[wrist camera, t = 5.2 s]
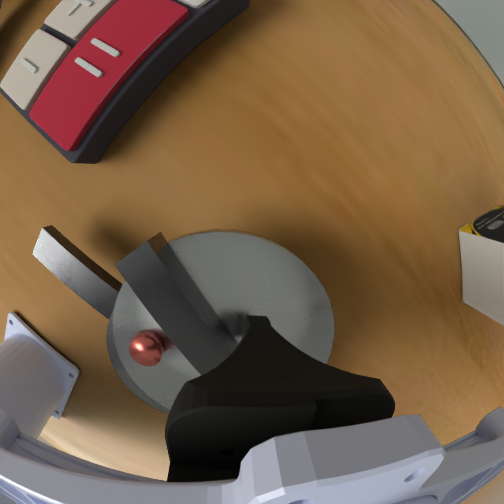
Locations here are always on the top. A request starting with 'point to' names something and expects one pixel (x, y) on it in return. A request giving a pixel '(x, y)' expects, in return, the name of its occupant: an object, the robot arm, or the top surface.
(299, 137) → the top surface
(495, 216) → the medicine bottle
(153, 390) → the lid
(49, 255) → the pot
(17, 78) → the calculator
